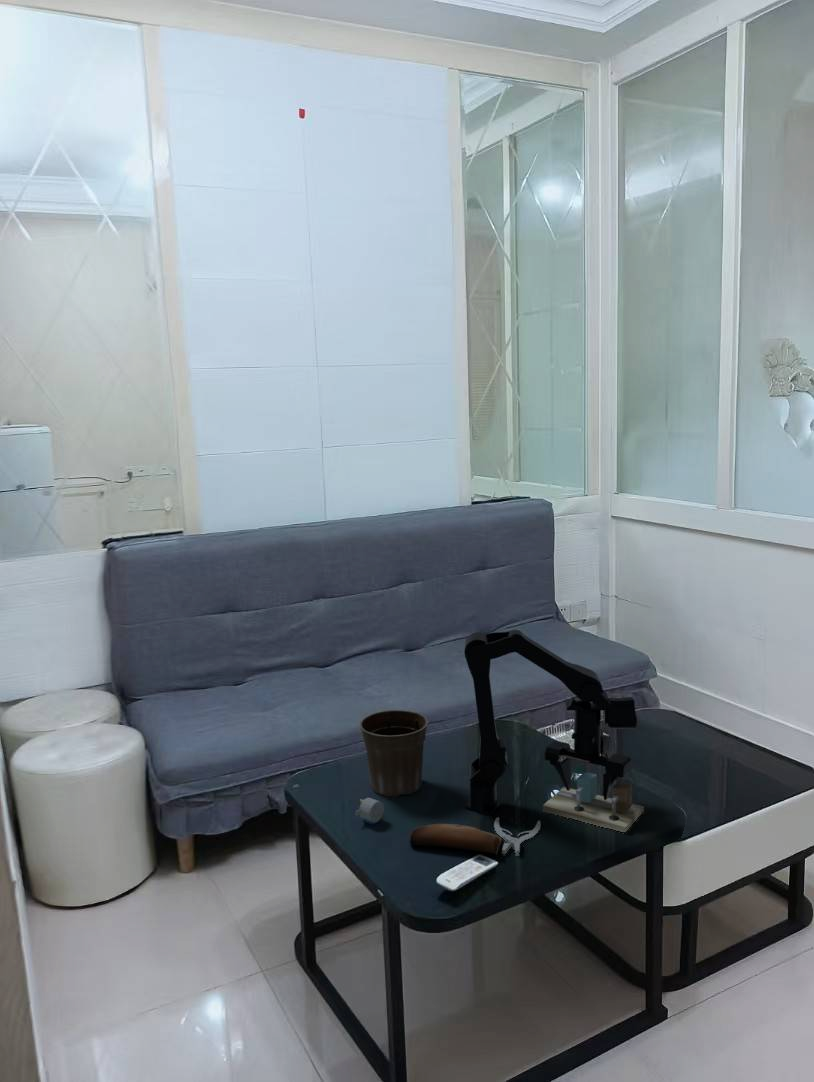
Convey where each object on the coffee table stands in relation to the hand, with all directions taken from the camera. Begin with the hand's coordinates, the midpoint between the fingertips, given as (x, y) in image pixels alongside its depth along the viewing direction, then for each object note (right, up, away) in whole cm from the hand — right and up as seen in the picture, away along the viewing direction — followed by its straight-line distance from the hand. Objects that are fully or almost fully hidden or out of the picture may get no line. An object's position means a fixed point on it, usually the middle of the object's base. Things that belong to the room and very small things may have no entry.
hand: (587, 794), depth 191 cm
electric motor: (-48, -5, -2) cm, 49 cm away
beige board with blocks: (+1, -3, -2) cm, 4 cm away
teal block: (-1, -1, -1) cm, 2 cm away
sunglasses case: (-30, -6, -13) cm, 33 cm away
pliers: (-18, -6, -12) cm, 22 cm away
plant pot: (-43, -2, +14) cm, 45 cm away
